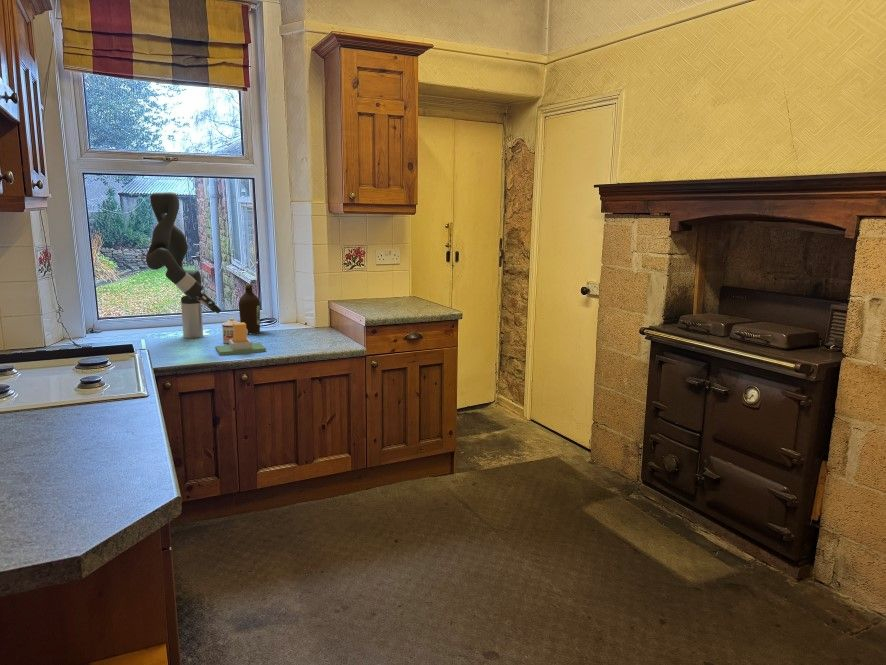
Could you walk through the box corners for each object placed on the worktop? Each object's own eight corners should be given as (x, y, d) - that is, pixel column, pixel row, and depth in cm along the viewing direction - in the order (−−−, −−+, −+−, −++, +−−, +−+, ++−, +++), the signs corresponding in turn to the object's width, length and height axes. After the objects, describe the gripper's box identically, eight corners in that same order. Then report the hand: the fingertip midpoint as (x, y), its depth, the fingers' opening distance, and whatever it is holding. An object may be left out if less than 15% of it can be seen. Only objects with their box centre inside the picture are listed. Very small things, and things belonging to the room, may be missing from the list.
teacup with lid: (220, 343, 290) (218, 319, 287) (226, 339, 299) (225, 316, 296) (245, 344, 290) (244, 320, 288) (250, 340, 299) (249, 317, 297)
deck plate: (215, 349, 279) (215, 339, 278) (259, 345, 288) (259, 336, 287) (219, 355, 268) (219, 345, 267) (265, 351, 277) (265, 341, 276)
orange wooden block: (233, 346, 279) (232, 323, 276) (245, 345, 281) (244, 322, 279) (235, 348, 274) (234, 325, 272) (247, 347, 277) (246, 324, 274)
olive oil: (238, 334, 311) (236, 286, 305) (241, 330, 321) (238, 283, 316) (260, 334, 313) (258, 286, 308) (261, 330, 323) (260, 283, 318)
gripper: (198, 280, 258) (227, 306, 266) (191, 278, 270) (219, 303, 277) (185, 293, 256) (215, 318, 264) (179, 290, 267) (207, 315, 275)
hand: (217, 311), depth 270 cm, fingers open, 8 cm apart
